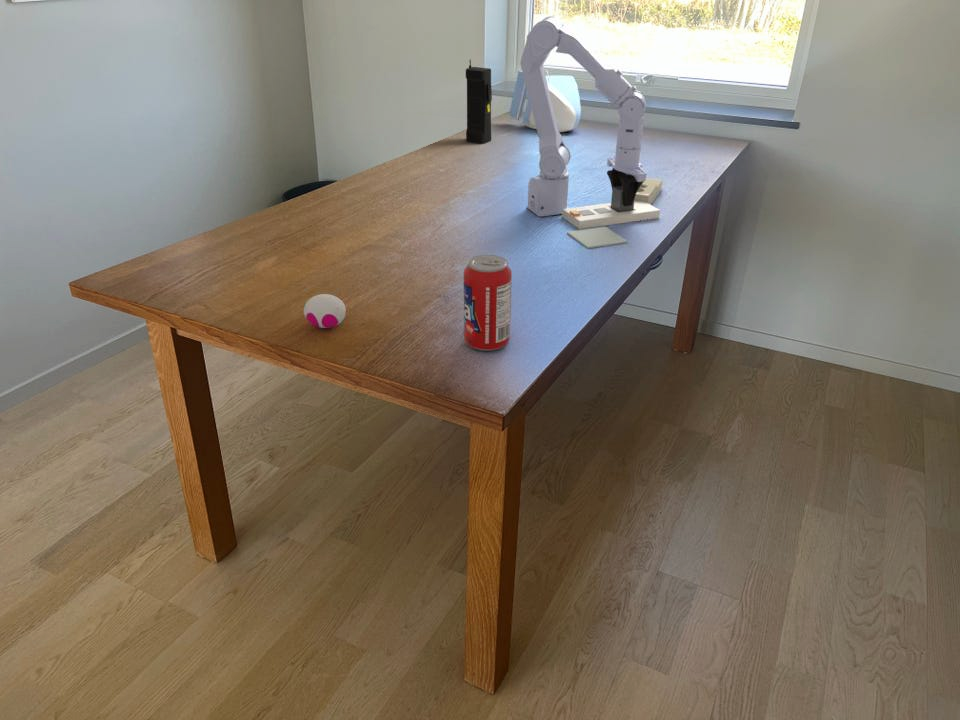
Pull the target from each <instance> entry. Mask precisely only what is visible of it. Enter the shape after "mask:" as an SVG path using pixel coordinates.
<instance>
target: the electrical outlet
mask: <svg viewBox="0 0 960 720" xmlns="http://www.w3.org/2000/svg"><path fill="white" fill-rule="evenodd" d="M662 188H663V179H661V178H651V177H646V181H644V182H643V183H642V185H641V186H640V188H639V189H638V191H637V193H636V196H635V200H638V201H645V202H647V203H648V204H650V205H652V204H653V203H654V201H655V200H656V198H657V197H656V196H658V195H659V194H660V192H661V191H662ZM651 203H652V204H651Z"/></svg>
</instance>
